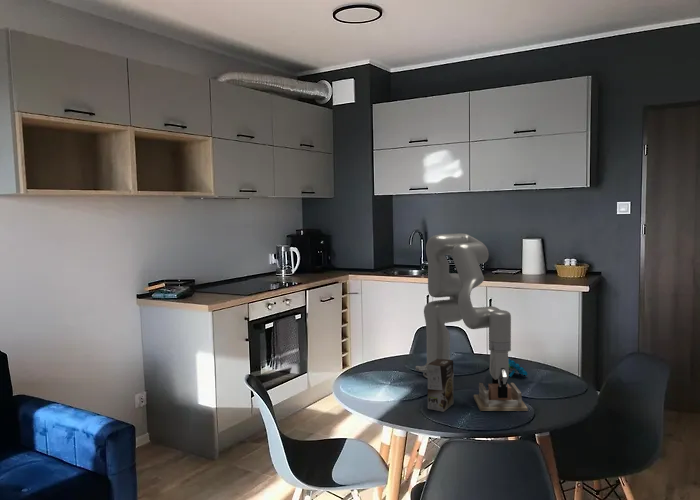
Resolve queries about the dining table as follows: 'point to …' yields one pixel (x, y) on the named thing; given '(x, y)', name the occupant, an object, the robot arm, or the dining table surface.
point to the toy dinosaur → (515, 368)
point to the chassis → (500, 405)
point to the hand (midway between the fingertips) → (499, 393)
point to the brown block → (494, 392)
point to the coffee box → (440, 384)
